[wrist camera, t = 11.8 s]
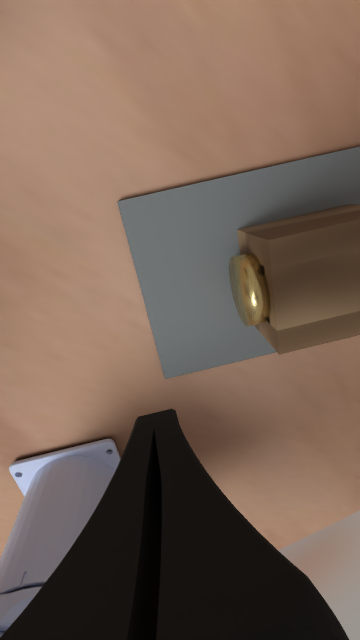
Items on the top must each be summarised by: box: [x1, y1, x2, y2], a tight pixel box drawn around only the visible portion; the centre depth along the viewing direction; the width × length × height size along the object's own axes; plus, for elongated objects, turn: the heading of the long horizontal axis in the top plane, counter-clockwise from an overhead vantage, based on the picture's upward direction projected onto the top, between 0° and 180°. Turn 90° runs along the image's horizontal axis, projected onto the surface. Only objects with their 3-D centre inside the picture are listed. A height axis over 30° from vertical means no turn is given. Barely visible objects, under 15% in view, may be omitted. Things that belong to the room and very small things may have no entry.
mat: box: [117, 146, 360, 379], centre depth 20 cm, size 12×19×1 cm, turn 102°
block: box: [237, 204, 360, 354], centre depth 17 cm, size 6×7×5 cm
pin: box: [229, 253, 271, 327], centre depth 17 cm, size 4×12×4 cm, turn 102°
